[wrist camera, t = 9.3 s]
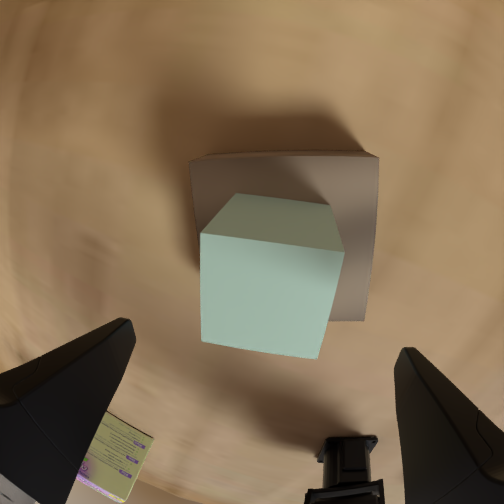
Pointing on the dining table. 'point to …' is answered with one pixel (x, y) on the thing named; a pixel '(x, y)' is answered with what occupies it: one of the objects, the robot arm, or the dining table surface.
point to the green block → (269, 275)
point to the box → (114, 458)
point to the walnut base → (308, 190)
